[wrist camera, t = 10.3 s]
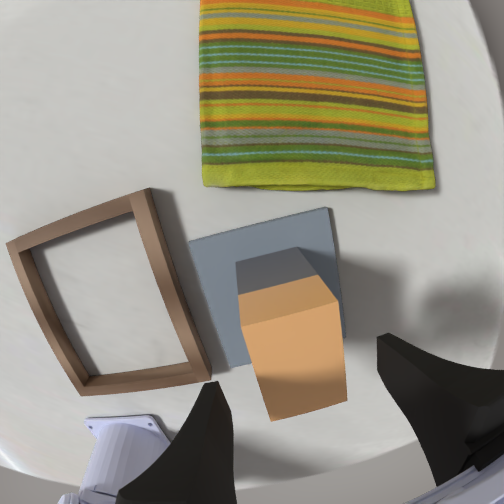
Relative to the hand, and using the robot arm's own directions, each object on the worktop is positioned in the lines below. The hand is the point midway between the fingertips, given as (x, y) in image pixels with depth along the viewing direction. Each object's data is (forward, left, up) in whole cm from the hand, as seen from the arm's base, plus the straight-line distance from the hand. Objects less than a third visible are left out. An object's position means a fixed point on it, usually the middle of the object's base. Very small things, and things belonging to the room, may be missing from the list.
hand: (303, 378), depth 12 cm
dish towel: (+24, -8, -10) cm, 27 cm away
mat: (0, 0, -9) cm, 9 cm away
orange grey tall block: (0, 0, -9) cm, 9 cm away
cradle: (+2, +12, -9) cm, 15 cm away
